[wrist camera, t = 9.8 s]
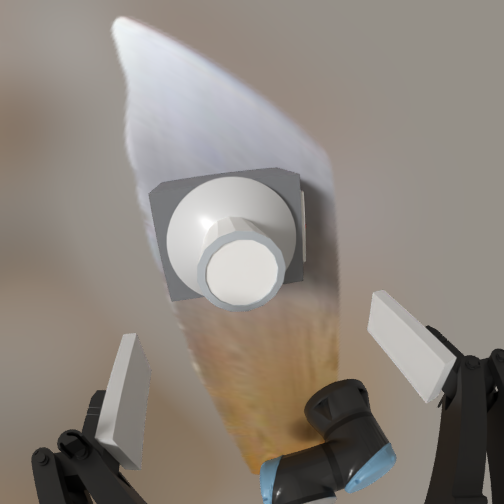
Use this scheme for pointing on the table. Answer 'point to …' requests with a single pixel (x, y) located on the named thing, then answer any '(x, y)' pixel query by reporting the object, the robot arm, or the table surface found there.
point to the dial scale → (221, 206)
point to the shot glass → (239, 265)
